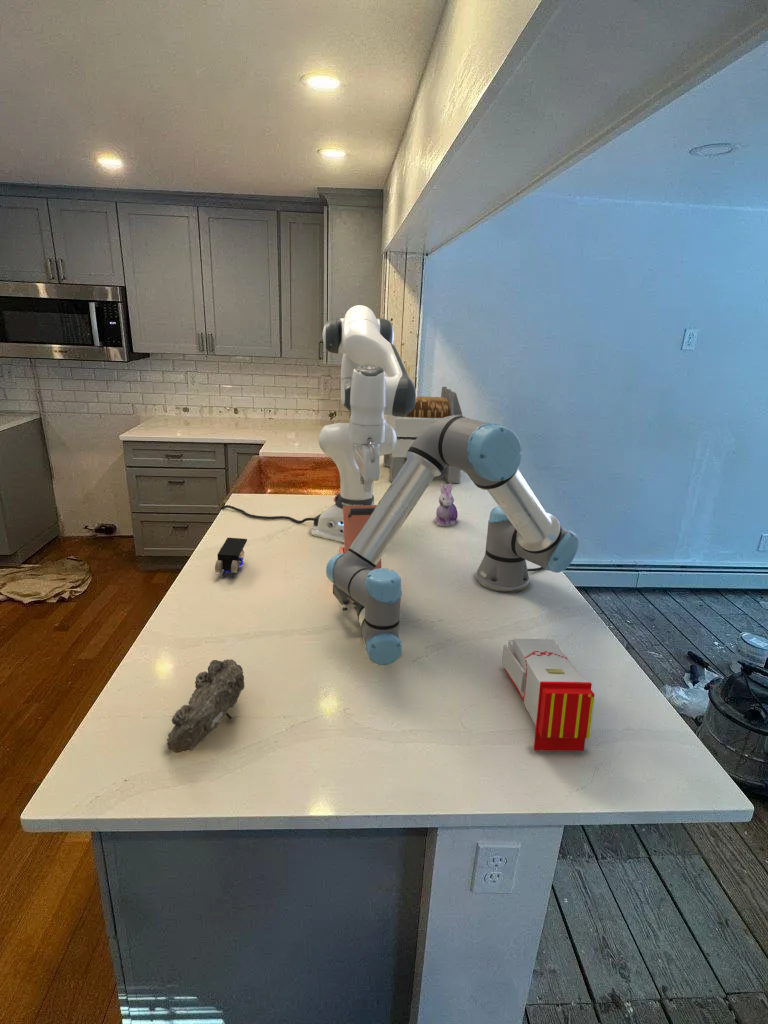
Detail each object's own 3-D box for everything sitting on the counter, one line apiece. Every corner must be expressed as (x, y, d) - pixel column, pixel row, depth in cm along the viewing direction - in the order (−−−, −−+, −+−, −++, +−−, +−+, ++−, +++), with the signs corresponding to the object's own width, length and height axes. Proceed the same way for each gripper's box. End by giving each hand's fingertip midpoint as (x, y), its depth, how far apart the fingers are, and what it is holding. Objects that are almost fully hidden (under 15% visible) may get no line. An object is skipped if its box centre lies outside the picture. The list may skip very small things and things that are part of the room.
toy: (549, 621, 128) (604, 690, 99) (544, 676, 131) (595, 758, 101) (496, 620, 128) (535, 688, 98) (492, 675, 130) (528, 757, 101)
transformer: (382, 463, 289) (386, 382, 275) (445, 464, 293) (451, 384, 279) (390, 482, 257) (394, 392, 243) (460, 483, 261) (468, 394, 247)
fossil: (192, 660, 117) (244, 628, 112) (224, 691, 120) (276, 661, 115) (142, 746, 98) (202, 712, 93) (182, 779, 101) (242, 748, 96)
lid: (342, 506, 152) (346, 500, 144) (378, 505, 154) (383, 499, 146) (345, 569, 150) (348, 567, 141) (380, 568, 151) (386, 565, 143)
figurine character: (238, 584, 162) (249, 557, 175) (236, 562, 158) (247, 536, 172) (215, 584, 161) (227, 556, 175) (212, 561, 158) (225, 535, 171)
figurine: (442, 528, 206) (446, 489, 201) (428, 519, 214) (431, 481, 209) (464, 525, 210) (468, 486, 205) (449, 516, 218) (452, 479, 213)
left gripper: (387, 443, 130) (384, 500, 135) (373, 425, 149) (371, 475, 154) (360, 443, 129) (358, 501, 134) (349, 425, 148) (348, 476, 153)
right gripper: (326, 632, 133) (320, 588, 153) (419, 627, 136) (400, 585, 157) (327, 604, 130) (320, 563, 151) (421, 600, 134) (402, 560, 155)
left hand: (365, 487), depth 144 cm, fingers open, 5 cm apart
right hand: (361, 574), depth 154 cm, fingers closed on chest, 10 cm apart
